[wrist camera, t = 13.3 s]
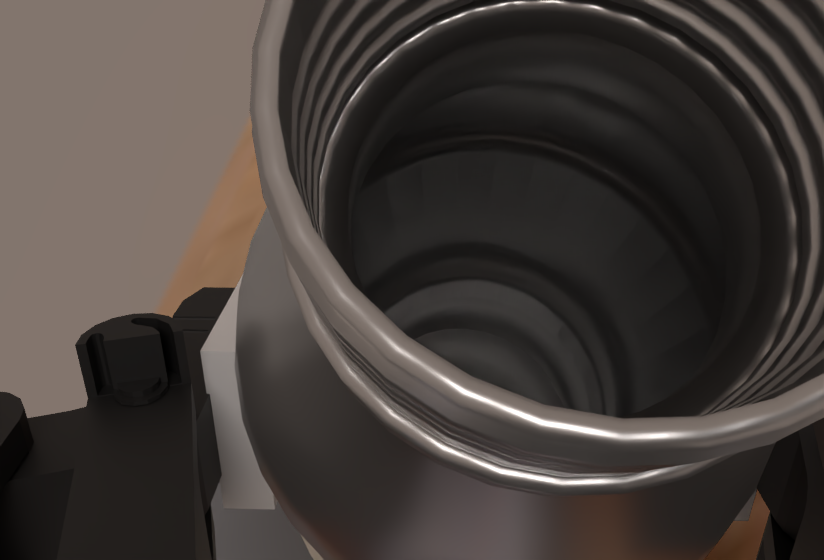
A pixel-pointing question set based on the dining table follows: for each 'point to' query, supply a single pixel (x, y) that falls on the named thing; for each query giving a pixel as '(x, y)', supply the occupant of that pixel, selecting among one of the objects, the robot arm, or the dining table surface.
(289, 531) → the board
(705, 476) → the plastic bottle
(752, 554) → the dining table surface
